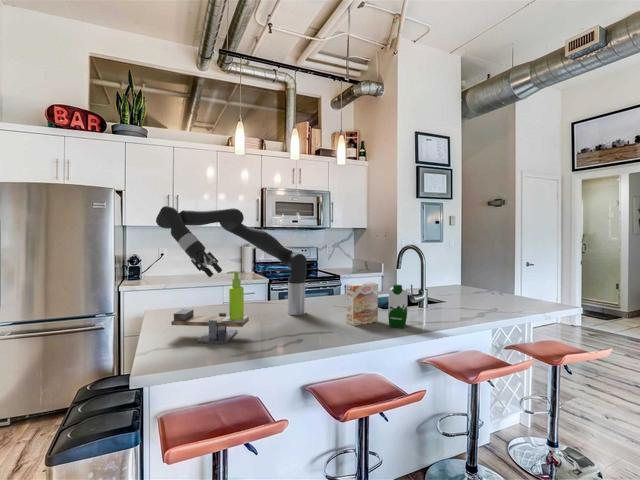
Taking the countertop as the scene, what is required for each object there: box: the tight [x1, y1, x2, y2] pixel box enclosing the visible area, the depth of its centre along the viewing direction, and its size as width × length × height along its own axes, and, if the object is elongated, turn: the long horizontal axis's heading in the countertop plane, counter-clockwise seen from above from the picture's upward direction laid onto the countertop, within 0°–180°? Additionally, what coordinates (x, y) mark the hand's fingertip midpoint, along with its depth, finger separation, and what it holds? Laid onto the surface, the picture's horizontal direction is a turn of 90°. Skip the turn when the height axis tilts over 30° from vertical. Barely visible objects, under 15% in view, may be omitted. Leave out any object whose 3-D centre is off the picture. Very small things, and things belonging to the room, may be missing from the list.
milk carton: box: [387, 284, 408, 329], centre depth 168 cm, size 9×9×20 cm
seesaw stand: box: [196, 312, 238, 345], centre depth 148 cm, size 12×16×9 cm
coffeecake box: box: [345, 281, 379, 327], centre depth 173 cm, size 15×7×20 cm, turn 117°
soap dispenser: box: [226, 270, 245, 320], centre depth 147 cm, size 6×7×20 cm
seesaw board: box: [170, 308, 250, 328], centre depth 148 cm, size 30×10×5 cm, turn 86°
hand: (216, 273), depth 149 cm, fingers open, 8 cm apart
